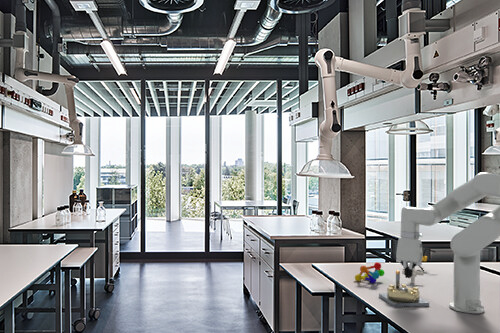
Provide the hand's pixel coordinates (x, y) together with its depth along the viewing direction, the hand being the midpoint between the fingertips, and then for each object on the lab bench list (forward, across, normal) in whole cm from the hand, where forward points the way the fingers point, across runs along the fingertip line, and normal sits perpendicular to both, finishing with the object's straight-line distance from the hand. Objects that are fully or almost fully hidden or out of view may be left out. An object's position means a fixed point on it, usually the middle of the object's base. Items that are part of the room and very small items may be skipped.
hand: (408, 277), depth 185 cm
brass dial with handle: (+8, 0, +5) cm, 9 cm away
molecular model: (+10, +24, -20) cm, 33 cm away
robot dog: (+10, +14, -67) cm, 70 cm away
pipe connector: (+10, +7, -32) cm, 34 cm away
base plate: (+10, 0, +5) cm, 11 cm away
